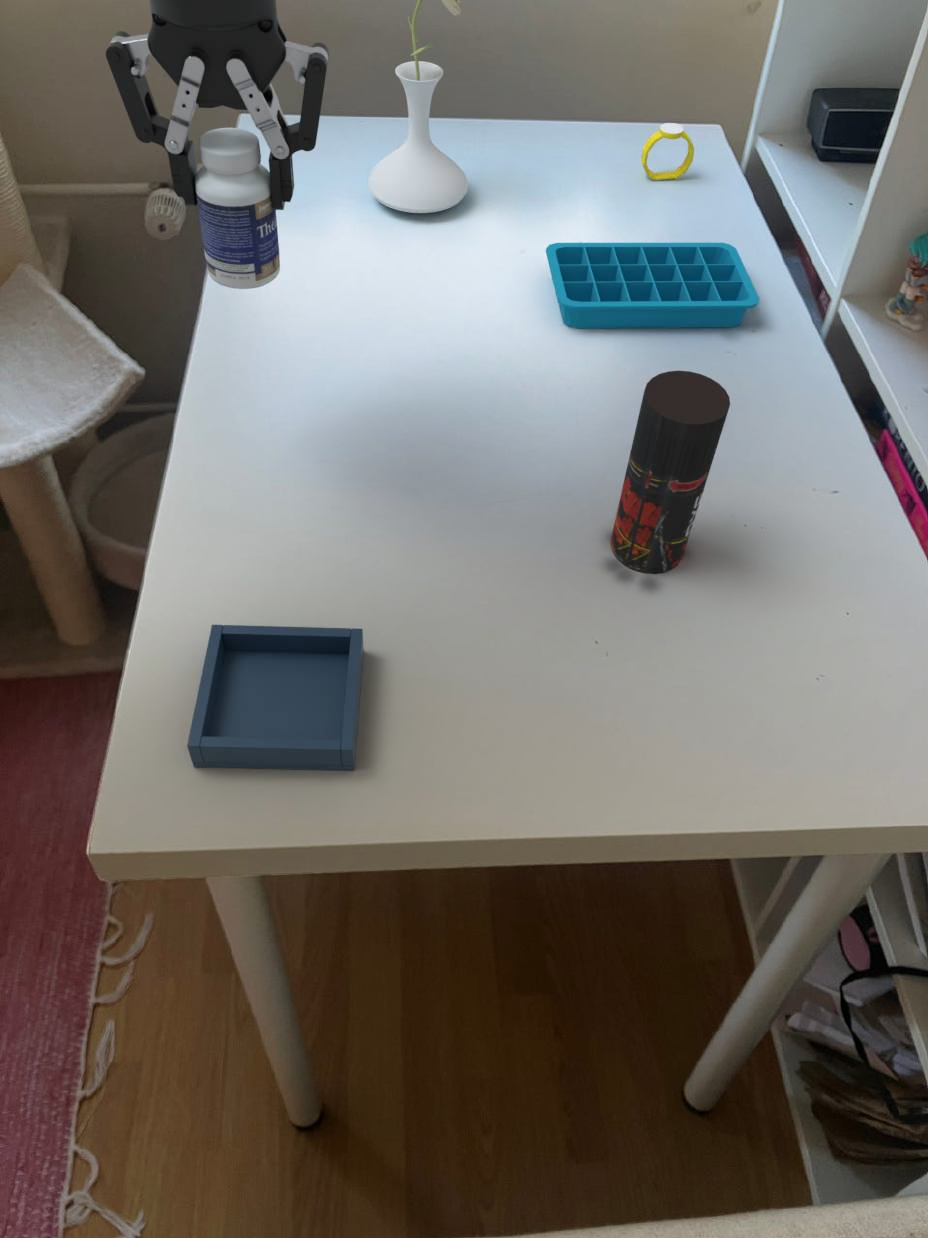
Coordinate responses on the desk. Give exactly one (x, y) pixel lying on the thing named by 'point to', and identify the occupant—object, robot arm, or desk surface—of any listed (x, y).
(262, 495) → the desk surface
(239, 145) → the pill bottle
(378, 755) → the desk surface
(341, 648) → the tray
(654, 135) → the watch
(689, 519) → the deodorant
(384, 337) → the desk surface
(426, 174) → the flower in vase
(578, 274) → the ice cube tray
